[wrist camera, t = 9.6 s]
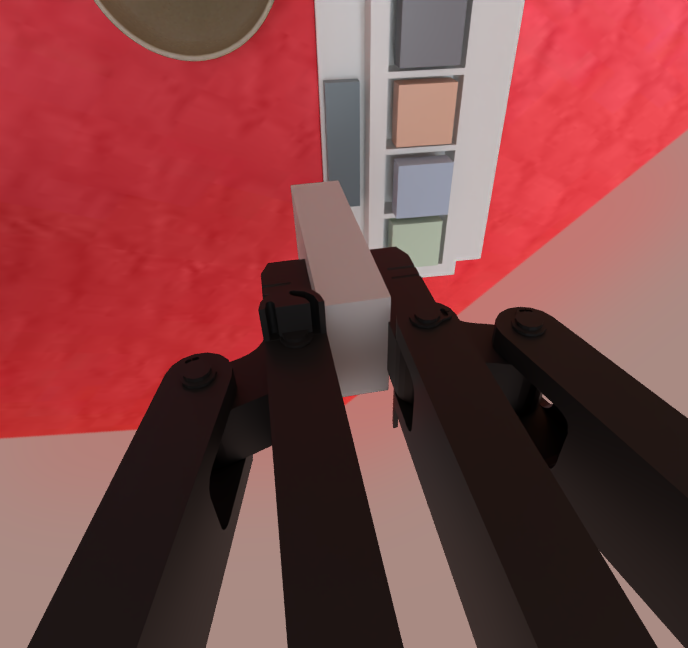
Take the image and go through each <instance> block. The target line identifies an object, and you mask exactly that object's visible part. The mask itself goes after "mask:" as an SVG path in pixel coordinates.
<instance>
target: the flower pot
mask: <svg viewBox="0 0 688 648" xmlns="http://www.w3.org/2000/svg"><path fill="white" fill-rule="evenodd" d="M94 1H95V3H96V4H97V6H98V7H99V8H100V9H101V11H102V12H103V13H104V14H105V16H106V17H107V18H108V19H109V20H110V21H111V22H112V23H113V24H114V25H115V26H116V27H117V28H118V29H119V30H120V31H122V32H123V33H124V34H125V35H126V36H128V37H129V38H130V39H132V40H133V41H135V42H136V43H138V44H140V45H141V46H143V47H145V48H146V49H148V50H150V51H152V52H155V53H157V54H160V55H162V56H165V57H169V58H173V59H177V60H184V61H205V60H210V59H215V58H218V57H221V56H224V55H226V54H229V53H231V52H232V51H234V50H236V49H237V48H239V47H241V46H242V45H243V44H245V43H246V42H247V41H248V40H249V39H250V38H251V37H252V36H253V35H254V34H255V33H256V32H257V31H258V29H259V28H260V26H261V25H262V24H263V22H264V21H265V19H266V17H267V15H268V13H269V11H270V9H271V7H272V5H273V2H274V0H94Z"/></svg>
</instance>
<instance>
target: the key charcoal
mask: <svg viewBox="0 0 688 648" xmlns="http://www.w3.org/2000/svg"><path fill="white" fill-rule="evenodd" d="M466 8H467V0H397V5H396V32H395V60H394V64H395V65H396V66H398V67H399V68H414V67H433V66H452V65H460V62H461V53H462V44H463V35H464V26H465V17H466Z"/></svg>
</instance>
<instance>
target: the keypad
mask: <svg viewBox="0 0 688 648" xmlns="http://www.w3.org/2000/svg"><path fill="white" fill-rule="evenodd" d="M524 2H525V0H467V8H466V17H465V26H464V35H463V44H462V53H461V62H460V65H452V66H433V67H414V68H399V67H398V66H396V65H395V64H394V60H395V32H396V5H397V0H314V9H315V29H316V49H317V68H318V88H319V108H320V128H321V147H322V167H323V182H327V181H337V180H338V181H339V183H340V185H341V188H342V190H343V192H344V194H345V196H346V199H347V201H348V203H349V205H350V208H351V210H352V212H353V214H354V216H355V219H356V221H357V223H358V225H359V227H360V230H361V232H362V234H363V236H364V239H365V241H366V243H367V245H368V247H369V250H370V249H378V248H387V247H388V223H389V218H396V217H395V215H394V213H393V211H392V191H393V166H394V159H395V158H409V157H423V156H438V155H448V156H449V157H450V158H451V160H452V161H453V162H454V166H453V175H452V183H451V192H450V200H449V209H448V215H439V217H440V218H441V219H442V221H443V223H442V232H441V241H440V250H439V259H438V265H434V266H423V267H416V269H417V271H418V272H419V276H421V277H432V276H443V275H453V274H454V271H455V264H456V261H460V260H471V259H480V258H481V252H482V246H483V240H484V234H485V229H486V223H487V217H488V211H489V205H490V200H491V194H492V188H493V182H494V176H495V171H496V165H497V159H498V153H499V147H500V142H501V136H502V130H503V124H504V118H505V113H506V107H507V101H508V95H509V89H510V84H511V78H512V72H513V66H514V60H515V55H516V49H517V43H518V37H519V31H520V26H521V20H522V14H523V8H524ZM445 77H451V78H453V79H454V80H456V81H457V82H458V89H457V98H456V107H455V116H454V125H453V133H452V142H451V144H439V145H424V146H410V147H396V146H395V145H394V143H393V142H392V114H393V86H394V80H408V79H426V78H445Z"/></svg>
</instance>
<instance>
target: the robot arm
mask: <svg viewBox="0 0 688 648" xmlns="http://www.w3.org/2000/svg"><path fill="white" fill-rule="evenodd" d="M291 193H292V203H293V212H294V221H295V230H296V239H297V248H298V258H299V260H291V261H282V262H274V263H268V264H267V266H266V267H265V269H264V270H263V272H262V274H261V281H262V294H263V300H262V301H261V302H260V306H259V309H258V311H259V316H260V322H261V327H262V333H263V338H264V340H263V342H262V343H261V344H260V346H259V347H258V348H257V349H256V350H254V351H253V352H251V353H250V354H248V355H246V356H244V357H242V358H240V359H237V360H234V361H232V362H229V360H228V359H226V358H225V357H223V356H221V355H219V354H213V353H200V354H194V355H191V356H189V357H186V358H183V359H181V360H180V361H178V362H177V363H175V364H174V365H173V366H172V367H171V368H170V369H169V370H168V372H167V373H166V374H165V376H164V378H163V380H162V382H161V384H160V386H159V388H158V390H157V392H156V394H155V396H154V398H153V400H152V402H151V404H150V406H149V408H148V410H147V412H146V414H145V415H144V417H143V419H142V421H141V423H140V425H139V427H138V429H137V431H136V433H135V435H134V437H133V439H132V441H131V443H130V445H129V447H128V450H127V451H126V453H125V455H124V457H123V459H122V461H121V463H120V465H119V467H118V469H117V471H116V473H115V475H114V477H113V479H112V481H111V483H110V485H109V487H108V489H107V491H106V493H105V495H104V497H103V499H102V501H101V503H100V505H99V507H98V508H97V511H96V513H95V515H94V517H93V518H92V520H91V522H90V524H89V526H88V528H87V530H86V532H85V534H84V536H83V538H82V540H81V542H80V544H79V546H78V548H77V550H76V552H75V554H74V556H73V558H72V560H71V562H70V564H69V566H68V568H67V570H66V572H65V574H64V576H63V578H62V580H61V582H60V584H59V586H58V588H57V590H56V592H55V594H54V596H53V598H52V600H51V601H50V603H49V606H48V607H47V609H46V612H45V613H44V616H43V618H42V619H41V621H40V623H39V626H38V628H37V630H36V631H35V633H34V635H33V637H32V639H31V641H30V643H29V645H28V647H27V648H206V644H207V640H208V635H209V632H210V628H211V624H212V620H213V616H214V612H215V608H216V604H217V600H218V596H219V592H220V588H221V584H222V580H223V576H224V572H225V568H226V564H227V560H228V556H229V552H230V548H231V544H232V540H233V536H234V532H235V528H236V524H237V520H238V516H239V512H240V508H241V504H242V500H243V496H244V492H245V488H246V484H247V480H248V476H249V472H250V469H251V464H252V461H253V454H255V453H257V452H259V451H261V450H263V449H265V448H268V447H270V446H272V450H273V462H274V475H275V487H276V502H277V514H278V527H279V540H280V553H281V566H282V579H283V591H284V605H285V617H286V631H287V644H288V648H404V647H403V643H402V639H401V635H400V631H399V627H398V623H397V619H396V614H395V611H394V606H393V603H392V598H391V594H390V590H389V586H388V582H387V578H386V574H385V570H384V565H383V561H382V557H381V553H380V549H379V545H378V541H377V537H376V533H375V529H374V524H373V520H372V516H371V512H370V508H369V504H368V500H367V496H366V492H365V487H364V484H363V479H362V475H361V471H360V467H359V463H358V459H357V455H356V451H355V447H354V442H353V438H352V434H351V430H350V426H349V422H348V418H347V414H346V410H345V406H344V401H343V397H346V396H352V395H359V394H365V393H371V392H378V391H384V390H388V382H389V376H390V379H391V382H392V384H393V387H394V395H393V428H396V427H398V420H399V422H400V425H401V428H402V431H403V434H404V437H405V440H406V443H407V446H408V449H409V451H410V454H411V457H412V460H413V463H414V466H415V469H416V472H417V474H418V477H419V480H420V483H421V486H422V489H423V492H424V495H425V498H426V501H427V504H428V506H429V509H430V512H431V515H432V518H433V521H434V524H435V526H436V530H437V532H438V535H439V538H440V541H441V544H442V547H443V550H444V553H445V556H446V558H447V561H448V564H449V567H450V570H451V573H452V576H453V579H454V582H455V584H456V587H457V590H458V593H459V596H460V599H461V602H462V605H463V608H464V611H465V614H466V616H467V619H468V622H469V625H470V628H471V631H472V634H473V637H474V639H475V643H476V645H477V648H657V646H656V644H655V642H654V641H653V639H652V638H651V636H650V634H649V633H648V631H647V629H646V628H645V626H644V624H643V622H642V621H641V619H640V618H639V616H638V614H637V613H636V611H635V609H634V608H633V606H632V604H631V603H630V601H629V599H628V598H627V596H626V595H625V593H624V591H623V590H622V588H621V586H620V584H619V583H618V581H617V580H616V578H615V576H614V575H613V573H612V571H611V570H610V568H609V566H608V565H607V563H606V561H605V560H604V558H603V557H602V555H601V553H602V554H603V555H604V556H605V557H606V559H607V560H608V561H609V562H610V563H611V564H612V565H613V567H614V568H615V569H616V570H617V571H618V572H619V573H620V575H621V576H622V577H623V578H624V579H625V580H626V581H627V582H628V584H629V585H630V586H631V587H632V588H633V589H634V590H635V592H636V593H637V594H638V595H639V596H640V597H641V598H642V599H643V601H644V602H645V603H646V604H647V605H648V606H649V607H650V609H651V610H652V611H653V612H654V613H655V614H656V615H657V617H658V618H659V619H660V620H661V621H662V622H663V623H664V624H665V626H667V628H668V629H669V630H670V631H671V632H672V633H673V635H674V636H675V637H676V638H677V639H678V640H679V641H680V642H681V644H682V645H683V646H684V647H685V648H688V418H686V417H685V416H684V415H682V414H681V413H680V412H679V411H677V410H676V409H675V408H673V407H672V406H670V405H669V404H668V403H667V402H665V401H664V400H662V399H661V398H660V397H658V396H657V395H656V394H655V393H653V392H651V390H649V389H648V388H647V387H645V386H644V385H643V384H641V383H640V382H639V381H637V380H636V379H635V378H633V377H632V376H631V375H629V374H628V373H626V372H625V371H624V370H623V369H621V368H620V367H619V366H617V365H616V364H615V363H613V362H612V361H611V360H609V359H608V358H607V357H605V356H604V355H603V354H601V353H600V352H599V351H597V350H596V349H595V348H593V347H592V346H591V345H589V344H588V343H587V342H585V341H584V340H583V339H582V338H580V337H579V336H577V335H576V334H575V333H574V332H572V331H571V330H569V329H568V328H567V327H566V326H564V325H563V324H562V323H560V322H559V321H558V320H556V319H555V318H554V317H552V316H550V315H548V314H547V313H545V312H543V311H540V310H536V309H533V308H526V307H516V308H509V309H506V310H504V311H503V312H501V313H499V315H498V316H497V318H496V320H495V325H491V324H477V323H469V322H463V321H460V320H459V319H458V317H457V315H456V314H455V313H454V312H453V311H452V310H451V309H450V308H449V307H447V306H445V305H443V304H441V303H436V302H435V300H434V299H433V297H432V295H431V293H430V292H429V290H428V288H427V286H426V285H425V283H424V281H423V279H422V278H421V276H419V272H418V271H417V269H416V267H414V264H413V262H412V260H411V258H410V257H409V255H408V254H407V253H405V252H404V251H402V250H401V249H399V248H397V247H396V246H395V247H387V248H378V249H370V250H369V247H368V245H367V243H366V241H365V239H364V236H363V234H362V232H361V230H360V227H359V225H358V223H357V221H356V219H355V216H354V214H353V212H352V210H351V208H350V205H349V203H348V201H347V199H346V196H345V194H344V192H343V190H342V188H341V185H340V183H339V181H338V180H337V181H327V182H318V183H308V184H298V185H291ZM542 394H544V395H545V396H546V397H547V398H548V399H549V400H550V401H551V402H552V403H553V404H550V403H548V402H547V401H546V400H545V399H544V398H542ZM600 552H601V553H600Z"/></svg>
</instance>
